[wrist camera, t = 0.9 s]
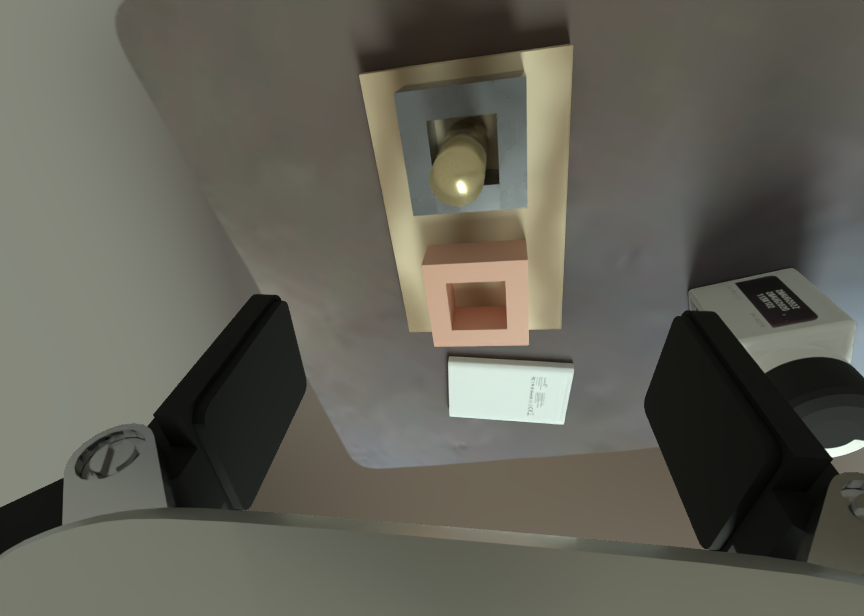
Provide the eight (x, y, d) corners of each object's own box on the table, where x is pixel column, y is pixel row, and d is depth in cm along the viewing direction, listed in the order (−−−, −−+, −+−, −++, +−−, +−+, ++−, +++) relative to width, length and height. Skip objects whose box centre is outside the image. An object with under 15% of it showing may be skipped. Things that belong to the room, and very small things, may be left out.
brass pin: (487, 115, 30) (482, 148, 22) (489, 159, 31) (485, 204, 24) (444, 120, 30) (425, 154, 23) (449, 163, 32) (432, 208, 24)
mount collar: (524, 69, 28) (526, 76, 25) (525, 190, 32) (527, 207, 29) (404, 85, 29) (393, 93, 26) (421, 198, 34) (413, 216, 31)
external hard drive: (449, 352, 45) (572, 359, 43) (450, 407, 49) (562, 415, 48) (447, 362, 43) (574, 370, 42) (449, 418, 48) (563, 427, 46)
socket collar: (525, 239, 34) (528, 259, 31) (526, 320, 39) (528, 345, 36) (427, 245, 36) (421, 265, 33) (439, 322, 40) (434, 346, 37)
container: (686, 288, 36) (762, 400, 26) (794, 265, 34) (926, 378, 23) (691, 355, 40) (759, 478, 30) (789, 339, 38) (901, 466, 27)
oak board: (570, 43, 28) (573, 45, 27) (559, 319, 40) (561, 328, 39) (364, 72, 30) (358, 74, 29) (412, 322, 42) (409, 332, 41)
